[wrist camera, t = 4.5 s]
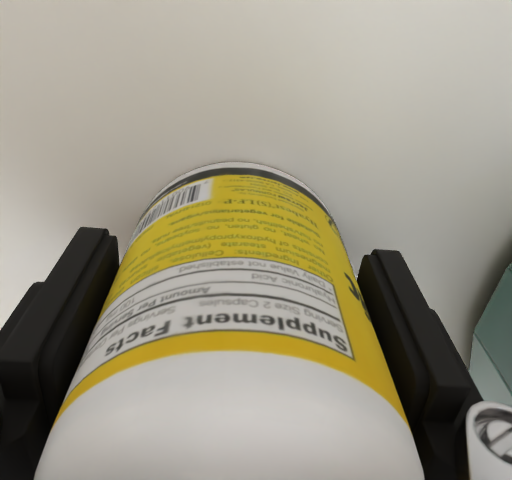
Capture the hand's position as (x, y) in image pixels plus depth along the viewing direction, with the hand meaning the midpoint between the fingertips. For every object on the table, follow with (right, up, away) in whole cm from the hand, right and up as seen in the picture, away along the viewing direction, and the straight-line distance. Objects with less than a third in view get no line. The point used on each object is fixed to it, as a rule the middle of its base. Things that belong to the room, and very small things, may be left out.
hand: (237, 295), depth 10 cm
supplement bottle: (0, +1, +2) cm, 2 cm away
